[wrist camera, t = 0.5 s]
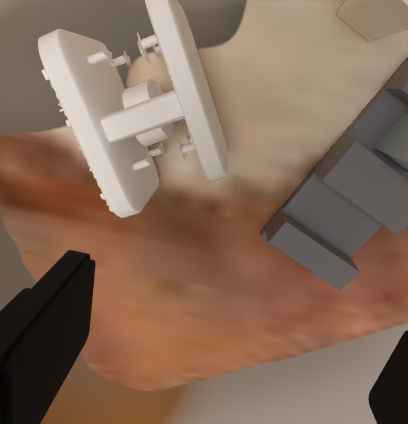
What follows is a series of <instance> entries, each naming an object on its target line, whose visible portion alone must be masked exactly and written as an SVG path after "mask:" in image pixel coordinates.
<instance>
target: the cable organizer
mask: <svg viewBox="0 0 408 424" xmlns="http://www.w3.org/2000/svg"><path fill="white" fill-rule="evenodd" d="M145 3H146V7H147V10H148V14H149V17H150V20H151V23H152V26H153V29H154V32H155V34H154V35H152V36H149V37H147V38H145V39H142V40H141V39H140V36H139V34H138V33H137V34H138V46H139V50H140V52H141V54H142V56H143V57H144V59H145V61H146V62H147V60H148V61H149V62H150V60H149V57H148V55H147V52H146V49H147V48H149V47H153V49H154V52H155V54H156V57H157V56H158V57H159V54H162V55H163V58H164V61H165V64H166V67H167V69H168V72H169V75H170V78H171V81H172V84H173V87H174V90H173V91H170V92H167V93H165V94H163V93H162V91H161V89H160V87H159V86H158V84H157V83H156V82H155V81H153V80H148V81H146V82H143V83H140V84H138V85H135V86H133V87H130V88H127V89H125V87H124V85H123V82H122V80H121V78H120V75H119V72H118V70H117V66H120V65H122V64H125V63H127V66H128V67H129V65H130V66H131V67H132V65H131V63H130V57H128V56H127V55H126V53H125V51H124V55H122V56H120V57H118V58H116V59H112V52H110V51H108V50H107V48H106V46H105V45H104V44H103V43H101V42H100V41H97V40H94V39H90V38H88V37H85V36H81V35H78V34H75V33H72V32H69V31H66V30H63V29H58V30H55V31H53V32H51V33H49V34H46V35H44V36H42V37H40V38H39V41H38V48H39V53H40V57H41V61H42V63H43V66H44V68H45V69H44V70H42V73H43V75H44V77H45V79H46V80H49V79H50V81H51V86H52V87H53V89H54V90H55V92H56V96H57V98H58V99H59V100H60V104H59V105H61V107H62V108H63V109H61V110H60V112H61V111H64V113H65V115H66V116H67V118H68V120H66V124H67V125H68V127H70V128H73V131H74V135H76V137H77V138H76V139H77V141H78V142H79V143H80V147H79V149H80V148H81V150H83V152H84V156H85V157H86V158H87V160H88V165H89V166H90V169H89V171H90V170H91V171H92V172H93V173H94V178H95V179H96V180H97V184H98V186H99V187H100V188H101V190H102V193H101V194H100V196H101V198H102V199H103V200H104V199H106V202H107V206H108V205H109V210H110V211H111V212H114V213H115V214H116V215H117V216H119V217H121V218H124V217H128V216H131V215H134V214H138V213H140V212H141V211H142V209H143V208H144V206H145V205H146V203H147V202H148V201H149V199H150V198H151V196H152V195H153V193H154V192H155V191H156V189H157V188H158V186H159V178H158V173H157V169H156V166H155V163H154V161H153V158H152V157H153V156H156V155H159V154H162V155H164V154H166V153H165V151H164V146H163V145H161V143H160V141H162V140H165V139H167V138H170V137H172V136H173V124H172V123H173V122H176V121H179V120H182V119H184V118H185V121H186V124H187V127H188V130H189V133H190V135H188V133H187V140H188V142H189V144H188V145H185V146H184V144H181V142H180V140H179V143H180V151H181V152H182V155H183V157H184V155H186V153H189V152H192V151H195V150H196V153H197V156H198V159H199V161H200V164H201V166H202V169H203V171H204V173H205V175H206V177H207V178H208V180H209V181H214V180H217V179H220V178H224V177H226V176H227V160H228V152H227V146H226V142H225V138H224V135H223V131H222V128H221V125H220V122H219V118H218V115H217V112H216V109H215V106H214V102H213V99H212V96H211V93H210V90H209V86H208V83H207V80H206V77H205V74H204V70H203V67H202V64H201V61H200V58H199V54H198V51H197V48H196V45H195V42H194V39H193V35H192V32H191V29H190V26H189V23H188V21H187V18H186V16H185V14H184V11H183V9H182V8H181V6H180V4H179V3H178V1H177V0H145ZM156 44H159V46H157V47H156V46H155V45H156ZM159 58H160V57H159ZM150 63H151V62H150ZM186 132H187V131H186ZM190 136H191V137H190ZM157 142H159V144H160V147H159V148H156V149H153V150H150V151H149V148H148V146H150V145H152V144H155V143H157ZM186 156H187V155H186Z"/></svg>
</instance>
